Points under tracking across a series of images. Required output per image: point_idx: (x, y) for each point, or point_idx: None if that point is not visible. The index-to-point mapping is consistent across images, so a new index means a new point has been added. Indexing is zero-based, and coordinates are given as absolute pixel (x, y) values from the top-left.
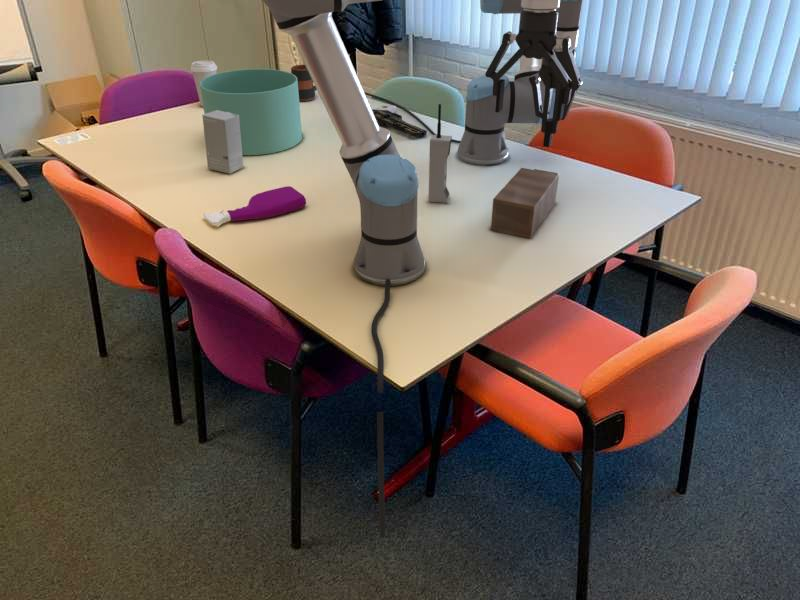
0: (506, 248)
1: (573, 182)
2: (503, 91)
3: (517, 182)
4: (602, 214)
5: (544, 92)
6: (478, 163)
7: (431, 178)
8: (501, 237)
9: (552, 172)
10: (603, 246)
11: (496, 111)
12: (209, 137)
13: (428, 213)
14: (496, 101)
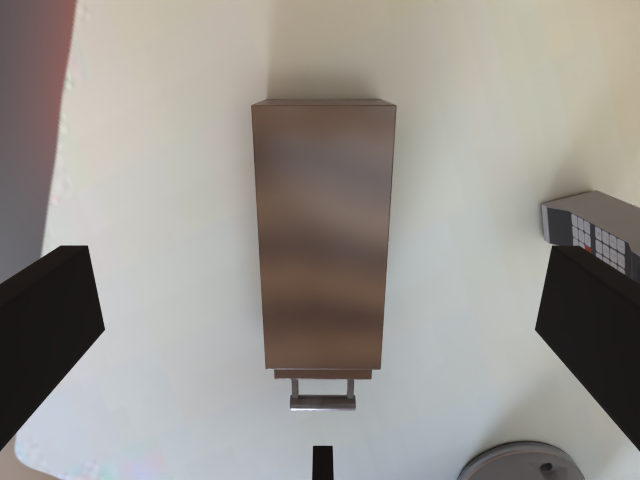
0: (306, 8)
1: (272, 439)
2: (628, 422)
3: (359, 264)
4: (154, 311)
5: None
6: (515, 445)
7: (636, 212)
8: (340, 70)
9: (303, 407)
10: (87, 144)
11: (573, 248)
12: None
13: (577, 122)
14: (634, 282)
